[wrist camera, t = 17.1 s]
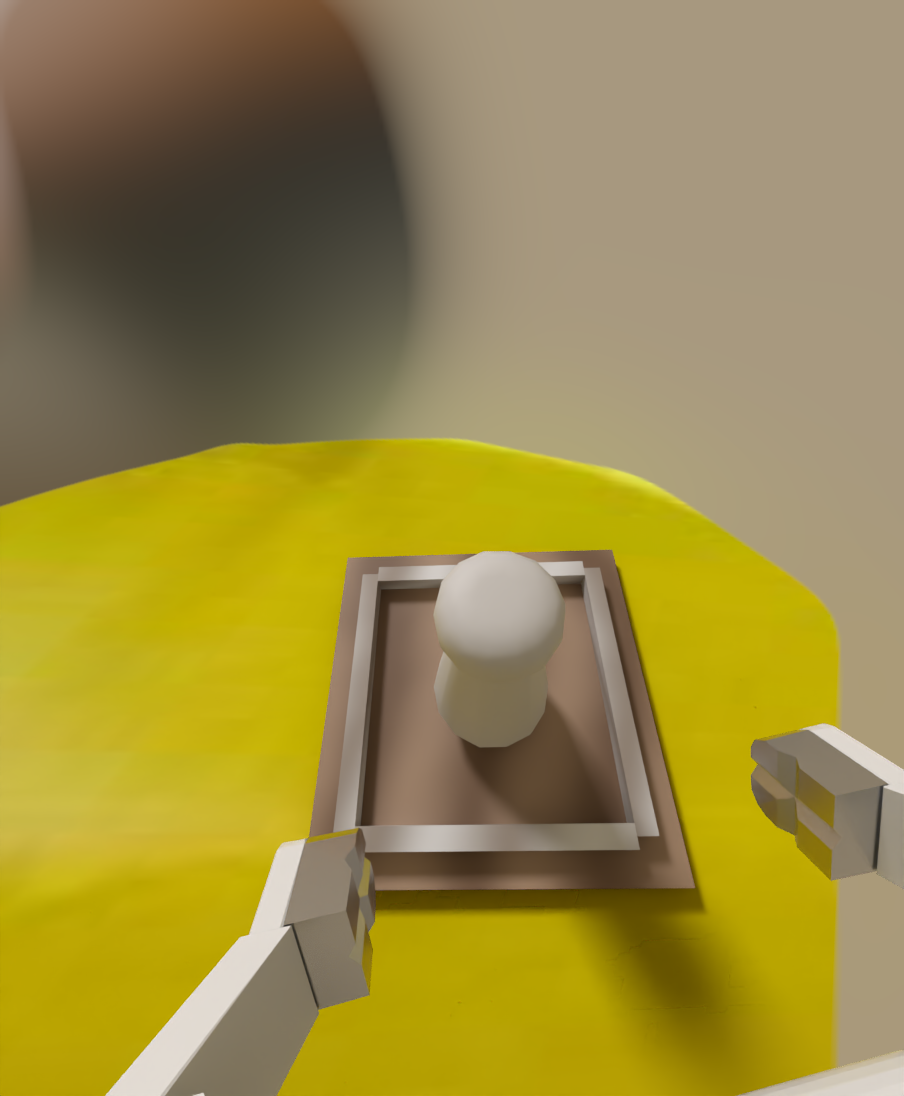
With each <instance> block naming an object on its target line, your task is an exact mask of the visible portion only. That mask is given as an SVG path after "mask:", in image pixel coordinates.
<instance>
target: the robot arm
mask: <svg viewBox="0 0 904 1096" xmlns="http://www.w3.org/2000/svg"><path fill="white" fill-rule="evenodd" d="M751 757H752V758H753V760H754V761H755V762H756V763H757V764H758V765H757V767H756V768H755V770H754V771H753V773H752V775H751V785H752V791H753V794H754V796H755V798H756V801H757V803H758V805H759V806H760V808H761V809H762V811H763V812H764V814H765V815H766V816H767V817H768V818H769V819H770V820H771V821H772V822H773V823H774V824H775V825H776V826H777V827H778V828H780V829H783V830H785V831H787V832H789V833H791V834H793V835H794V836H795V840H796V844H797V848H799V849H800V850H801V851H802V852H803V853H804V854H805V855H806V856H807V857H808V858H809V859H810V860H811V861H812V862H813V863H814V864H815V865H816V866H817V867H818V868H819V869H820V870H821V871H822V872H823V873H824V874H825V875H826V876H827V877H828V878H829V879H830V880H836V879H841V878H846V877H850V876H855V875H860V874H865V873H869V872H874V871H877V875H879V876H881V877H883V878H885V879H887V880H888V881H890V882H892V883H894V884H896V885H897V886H899V887H901V888H903V889H904V770H903V769H901V768H900V767H898V766H897V765H895V764H893V763H892V762H890V761H889V760H887V759H885V758H884V757H882V756H881V755H879V754H877V753H876V752H874V751H873V750H871V749H869V748H868V747H866V746H865V745H863V744H861V743H860V742H858V741H857V740H855V739H853V738H852V737H850V736H849V735H847V734H845V733H844V732H842V731H841V730H839V729H838V728H836V727H834V726H831V725H828V724H819V725H815V726H811V727H807V728H803V729H800V730H795V731H790V732H786V733H782V734H778V735H773V736H769V737H765V738H760V739H756V740H754V742H753V744H752V746H751ZM365 847H366V842H365V838H364V835H363V831H362V829H360V828H355V829H350V830H344V831H339V832H334V833H329V834H324V835H318V836H313V837H309V838H307V839H302V840H296V841H291V842H285V843H282V844H281V846H280V847H279V849H278V850H277V852H276V855H275V858H274V861H273V864H272V867H271V870H270V873H269V876H268V879H267V882H266V885H265V888H264V891H263V894H262V897H261V900H260V903H259V906H258V909H257V912H256V915H255V918H254V921H253V924H252V927H251V930H250V933H249V935H247V936H243V937H240V938H239V939H238V940H237V941H236V943H235V944H234V945H233V946H232V947H231V948H230V950H229V951H228V952H227V953H226V954H225V956H224V957H223V958H222V959H221V960H220V961H219V963H218V964H217V965H216V966H215V967H214V968H213V970H212V971H211V972H210V973H209V974H208V976H207V977H206V978H205V979H204V980H203V981H202V983H201V984H200V985H199V986H198V987H197V988H196V990H195V991H194V992H193V993H192V994H191V996H190V997H189V998H188V999H187V1000H186V1001H185V1003H184V1004H183V1005H182V1006H181V1007H180V1008H179V1010H178V1011H177V1012H176V1013H175V1014H174V1016H173V1017H172V1018H171V1019H170V1020H169V1021H168V1023H167V1024H166V1025H165V1026H164V1027H163V1028H162V1030H161V1031H160V1032H159V1033H158V1034H157V1036H156V1037H155V1038H154V1039H153V1040H152V1041H151V1043H150V1044H149V1045H148V1046H147V1047H146V1049H145V1050H144V1051H143V1052H142V1053H141V1054H140V1056H139V1057H138V1058H137V1059H136V1060H135V1061H134V1063H133V1064H132V1065H131V1066H130V1067H129V1069H128V1070H127V1071H126V1072H125V1073H124V1074H123V1076H122V1077H121V1078H120V1079H119V1080H118V1081H117V1083H116V1084H115V1085H114V1086H113V1087H112V1089H111V1090H110V1091H109V1092H108V1093H107V1094H106V1096H277V1094H278V1092H279V1090H280V1088H281V1086H282V1084H283V1082H284V1080H285V1078H286V1076H287V1074H288V1072H289V1070H290V1068H291V1066H292V1065H293V1063H294V1061H295V1059H296V1057H297V1055H298V1053H299V1051H300V1049H301V1047H302V1045H303V1043H304V1041H305V1039H306V1037H307V1036H308V1034H309V1032H310V1030H311V1028H312V1026H313V1024H314V1022H315V1020H316V1018H317V1016H318V1014H319V1012H318V1010H319V1009H322V1008H326V1007H329V1006H333V1005H336V1004H340V1003H343V1002H347V1001H350V1000H354V999H357V998H361V997H364V996H368V995H370V981H371V967H372V954H373V948H372V944H371V940H370V936H369V930H370V929H371V927H372V926H373V924H374V922H375V907H376V901H375V882H374V875H373V870H372V866H371V862H370V861H369V860H368V859H366V858H365ZM737 1096H904V1049H902V1050H898V1051H895V1052H891V1053H888V1054H884V1055H880V1056H877V1057H874V1058H870V1059H866V1060H863V1061H859V1062H856V1063H852V1064H848V1065H845V1066H841V1067H837V1068H834V1069H830V1070H827V1071H823V1072H819V1073H816V1074H812V1075H809V1076H805V1077H802V1078H798V1079H794V1080H791V1081H787V1082H784V1083H780V1084H776V1085H773V1086H769V1087H766V1088H762V1089H759V1090H755V1091H751V1092H748V1093H744V1094H741V1095H737Z"/></svg>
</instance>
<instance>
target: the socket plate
mask: <svg viewBox="0 0 904 1096" xmlns="http://www.w3.org/2000/svg"><path fill="white" fill-rule="evenodd" d="M516 554H518V555H521V556H524V557H527V558H529V559H532V560H535V561H536V562H537V563H538V564H539V565H540V566H542V567H543V568H544V569H545V570H546V571H547V572H548V573H549V574H550V575H551V576H552V577H553V578H554V579H555V581H556V583H557V585H558V588H559V590H560V593H561V595H562V597H563V600H564V602H565V604H566V605H565V620H564V629H563V638H562V641H561V643H560V644H559V646H558V647H557V649H556V650H555V652H554V653H553V655H552V656H551V658H550V659H549V661H548V662H547V664H546V665H545V667H546V674H547V682H548V690H547V698H546V705H545V712H544V714H543V715H542V717H541V719H540V720H539V722H538V723H537V725H536V727H535V728H534V730H533V732H532V733H531V735H529V736H527V737H525V738H523V739H521V740H519V741H517V742H515V743H513V744H511V745H509V746H507V747H478V746H476V745H474V744H472V743H470V742H468V741H466V740H465V739H463V738H461V737H459V736H457V735H455V734H454V732H453V731H452V730H451V728H450V727H449V726H448V724H447V723H446V722H445V720H444V719H443V718H442V716H441V715H440V714H439V711H438V706H437V701H436V696H435V691H434V684H435V680H436V676H437V672H438V668H439V663H440V660H441V657H442V654H443V650H442V649H441V647H440V644H439V640H438V635H437V630H436V626H435V621H434V616H433V614H434V609H435V605H436V601H437V597H438V594H439V590H440V586H441V582H442V580H443V579H444V578H445V577H446V576H447V575H448V574H449V573H450V572H451V571H452V570H453V568H454V567H455V566H456V565H457V564H458V563H459V562H461V561H463V560H466V559H468V558H470V557H472V556H474V555H477V554H459V555H427V556H394V557H361V558H348V561H347V568H346V576H345V583H344V590H343V597H342V604H341V612H340V619H339V626H338V633H337V640H336V647H335V655H334V662H333V669H332V676H331V683H330V691H329V698H328V705H327V712H326V719H325V726H324V734H323V741H322V748H321V755H320V762H319V770H318V777H317V784H316V791H315V798H314V805H313V813H312V820H311V827H310V834H309V837H313V836H318V835H324V834H329V833H334V832H339V831H344V830H350V829H355V828H360V829H362V831H363V835H364V838H365V842H366V847H365V858H366V859H368V860H369V861H370V862H371V866H372V870H373V875H374V882H375V890H475V889H629V888H695V885H694V881H693V877H692V873H691V869H690V865H689V861H688V857H687V852H686V848H685V844H684V840H683V836H682V832H681V828H680V824H679V820H678V816H677V812H676V808H675V804H674V800H673V796H672V792H671V788H670V783H669V779H668V775H667V771H666V767H665V763H664V759H663V755H662V751H661V747H660V743H659V739H658V735H657V731H656V727H655V723H654V719H653V714H652V710H651V706H650V702H649V698H648V694H647V690H646V686H645V682H644V678H643V674H642V670H641V666H640V662H639V658H638V654H637V650H636V645H635V641H634V637H633V633H632V629H631V625H630V621H629V617H628V613H627V609H626V605H625V601H624V597H623V593H622V589H621V585H620V581H619V576H618V572H617V568H616V564H615V560H614V556H613V552H612V550H591V551H558V552H525V553H516Z"/></svg>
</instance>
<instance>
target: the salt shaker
mask: <svg viewBox="0 0 904 1096" xmlns="http://www.w3.org/2000/svg"><path fill="white" fill-rule="evenodd" d="M565 605H566V604H565V602H564V600H563V597H562V595H561V593H560V590H559V588H558V585H557V583H556V581H555V579H554V578H553V577H552V576H551V575H550V574H549V573H548V572H547V571H546V570H545V569H544V568H543V567H542V566H540V565H539V564H538V563H537V562H536V561H535V560H532V559H529V558H527V557H524V556H521V555H518V554H516V553H513V552H510V551H499V552H481V553H479V554H477V555H474V556H472V557H470V558H468V559H466V560H463V561H461V562H459V563H458V564H457V565H456V566H455V567H454V568H453V570H452V571H451V572H450V573H449V574H448V575H447V576H446V577H445V578H444V579H443V580H442V582H441V586H440V590H439V594H438V597H437V601H436V605H435V609H434V614H433V616H434V621H435V626H436V630H437V635H438V640H439V644H440V647H441V649H442V650H443V654H442V657H441V660H440V663H439V668H438V672H437V676H436V680H435V684H434V691H435V696H436V701H437V706H438V711H439V714H440V715H441V716H442V718H443V719H444V720H445V722H446V723H447V724H448V726H449V727H450V728H451V730H452V731H453V732H454V734H455V735H457V736H459V737H461V738H463V739H465V740H466V741H468V742H470V743H472V744H474V745H476V746H478V747H507V746H509V745H511V744H513V743H515V742H517V741H519V740H521V739H523V738H525V737H527V736H529V735H531V733H532V732H533V730H534V728H535V727H536V725H537V723H538V722H539V720H540V719H541V717H542V715H543V714H544V712H545V705H546V698H547V690H548V682H547V674H546V667H545V665H546V664H547V662H548V661H549V659H550V658H551V656H552V655H553V653H554V652H555V650H556V649H557V647H558V646H559V644H560V643H561V641H562V638H563V629H564V620H565Z"/></svg>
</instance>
